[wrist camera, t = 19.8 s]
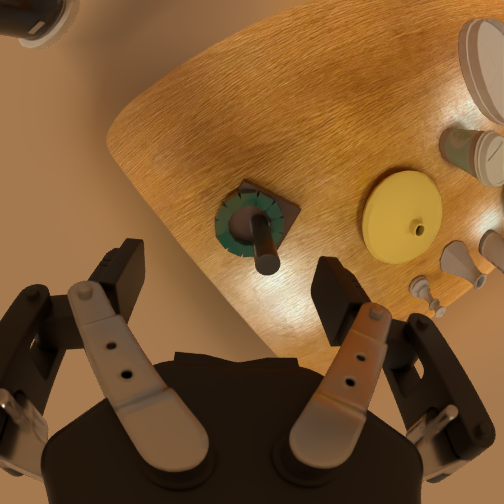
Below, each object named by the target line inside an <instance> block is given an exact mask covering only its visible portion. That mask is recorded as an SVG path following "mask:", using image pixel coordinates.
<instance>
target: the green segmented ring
mask: <svg viewBox="0 0 504 504" xmlns="http://www.w3.org/2000/svg"><path fill="white" fill-rule="evenodd" d="M246 206H256V207H258V208H260V209H262V210H264V211H265V212H266V213H267V215H268V217H269V227H270V231H271V234H272V237H273V240H274V243H275V246H276V245H277V243H278V242H279V240H280V239H281V237H282V235H283V233H282V232H284V217H283V213H282V211H281V209H280V208H279V206H278V204H277V203H276V201H275V199H273V198H272V197H271V196H270V195H268V194H266V193H264V192H262V191H260V190H258V192H257V191H256V189H254V190H240V194H239V192H238V191H237V192H235V193H233V194H232V195H230V196H228V197H227V198H225V201H222V203H221V205H220V207H219V209H218V211H217V213H216V216H215V232H216V235H217V239H218V240H219V242H220V243H221V244H222V246H223V247H224V248H225V249H227V251H229V252H231V253H233V254H235V255H238V256H240V257H241V255H242V254H243V257H254V254H253V247H252V240H242V239H240V238H238V237H236V236H235V235H234V234H233V233H232V231H231V230H230V228H229V220H230V218H231V216H232V215H233V213H234V212H235V211H237V210H239V209H240V208H242V207H246Z"/></svg>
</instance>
